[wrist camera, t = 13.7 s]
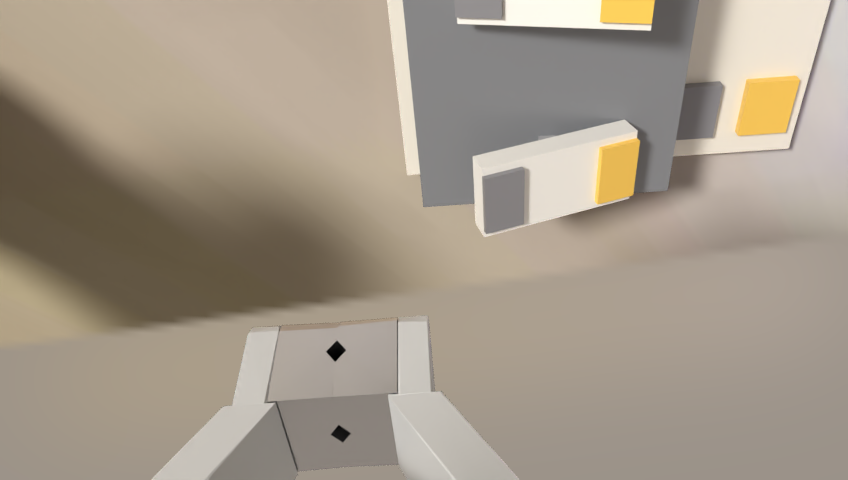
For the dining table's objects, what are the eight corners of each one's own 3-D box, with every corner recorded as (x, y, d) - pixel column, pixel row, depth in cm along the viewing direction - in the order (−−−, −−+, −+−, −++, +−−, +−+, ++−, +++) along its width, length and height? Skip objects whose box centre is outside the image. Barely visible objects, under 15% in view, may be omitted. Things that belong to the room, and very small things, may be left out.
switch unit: (407, 165, 42) (405, 224, 38) (374, -129, 32) (366, -97, 28) (781, 139, 41) (826, 196, 37) (867, -174, 31) (943, -148, 27)
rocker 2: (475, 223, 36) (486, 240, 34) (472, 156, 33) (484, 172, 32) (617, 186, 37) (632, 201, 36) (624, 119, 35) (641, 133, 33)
